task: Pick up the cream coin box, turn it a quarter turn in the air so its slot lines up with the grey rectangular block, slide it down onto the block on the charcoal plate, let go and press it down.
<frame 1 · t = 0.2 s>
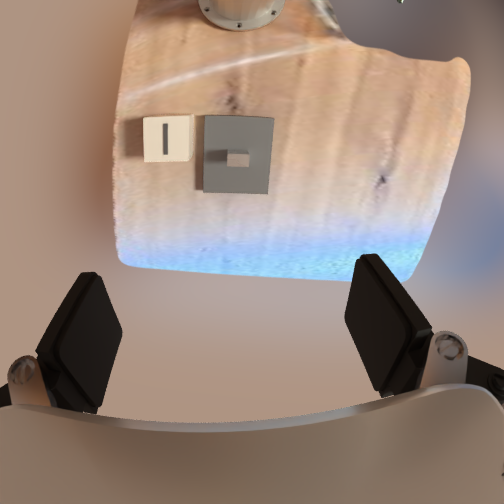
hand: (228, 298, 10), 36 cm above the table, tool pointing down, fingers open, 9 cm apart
cream coin box: (172, 134, 39), on the table
shaft plate: (237, 153, 42), on the table
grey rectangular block: (237, 157, 39), on the shaft plate, point 3 cm above the table
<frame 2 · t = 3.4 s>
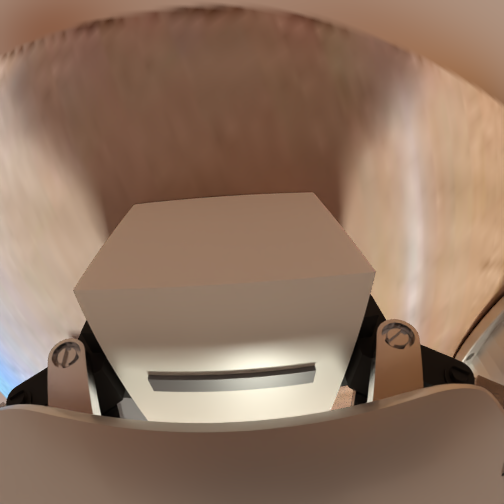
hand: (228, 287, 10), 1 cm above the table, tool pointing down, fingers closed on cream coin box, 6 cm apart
cream coin box: (228, 273, 11), on the table, touching gripper
shaft plate: (195, 402, 16), on the table
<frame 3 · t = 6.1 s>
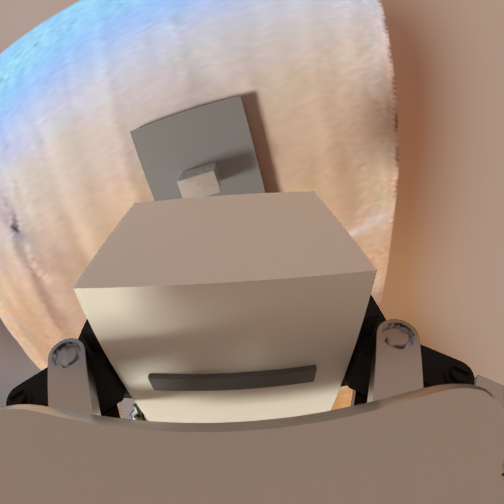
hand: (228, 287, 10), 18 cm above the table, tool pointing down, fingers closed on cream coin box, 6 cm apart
cream coin box: (228, 272, 11), point 17 cm above the table, touching gripper
shaft plate: (203, 171, 26), on the table
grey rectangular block: (200, 180, 23), on the shaft plate, point 3 cm above the table
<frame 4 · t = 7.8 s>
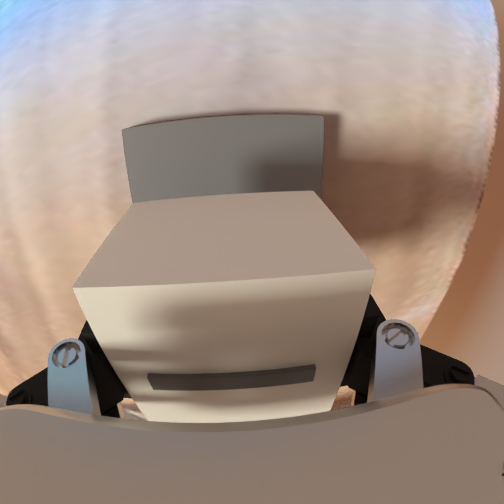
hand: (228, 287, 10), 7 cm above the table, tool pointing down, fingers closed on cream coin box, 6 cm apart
cream coin box: (228, 272, 11), point 6 cm above the table, touching gripper
shaft plate: (228, 219, 17), on the table
when the fingers open (3 cm above the table, at t = 9.0 s): cream coin box stays where it is, resting on shaft plate.
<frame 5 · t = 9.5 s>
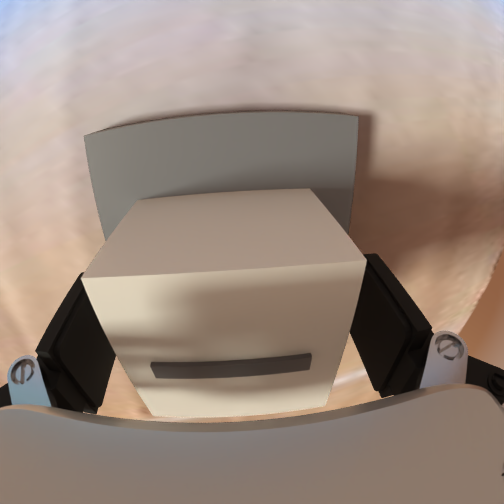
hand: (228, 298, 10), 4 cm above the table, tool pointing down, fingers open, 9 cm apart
cream coin box: (228, 267, 12), point 1 cm above the table, touching shaft plate
shaft plate: (227, 248, 13), on the table
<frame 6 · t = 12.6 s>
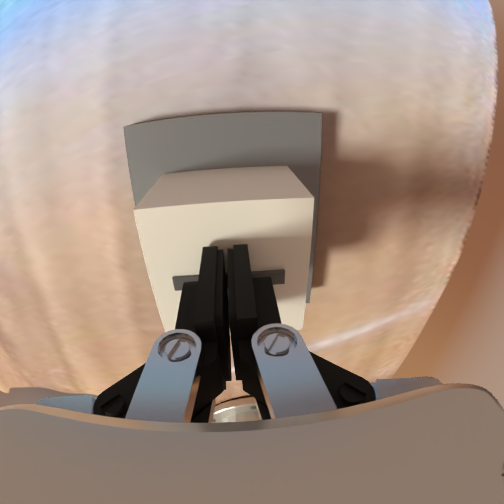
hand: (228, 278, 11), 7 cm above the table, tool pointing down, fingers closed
cream coin box: (228, 225, 15), point 1 cm above the table, touching gripper, shaft plate
shaft plate: (227, 214, 17), on the table
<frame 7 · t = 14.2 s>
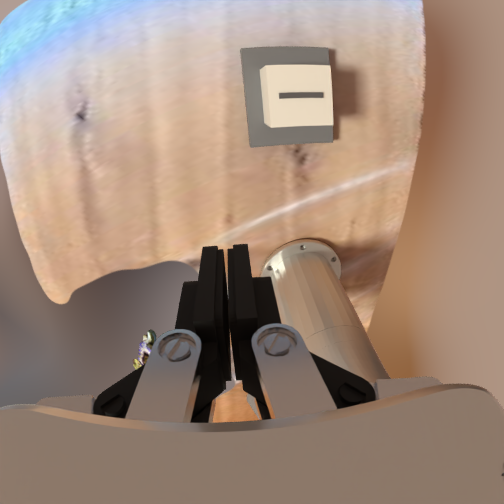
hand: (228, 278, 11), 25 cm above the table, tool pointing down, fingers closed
cream coin box: (290, 94, 28), point 1 cm above the table, touching shaft plate
shaft plate: (287, 94, 29), on the table
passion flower: (168, 342, 49), on the table
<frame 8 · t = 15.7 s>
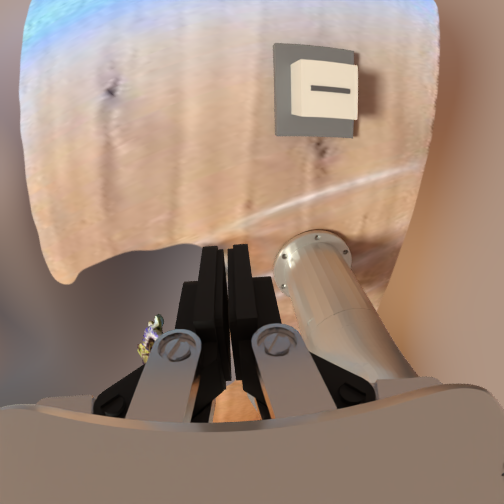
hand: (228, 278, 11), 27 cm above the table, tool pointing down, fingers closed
cream coin box: (316, 90, 29), point 1 cm above the table, touching shaft plate
shaft plate: (313, 90, 31), on the table
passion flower: (173, 330, 49), on the table
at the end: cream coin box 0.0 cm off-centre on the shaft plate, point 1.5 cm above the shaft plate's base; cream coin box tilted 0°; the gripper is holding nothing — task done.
